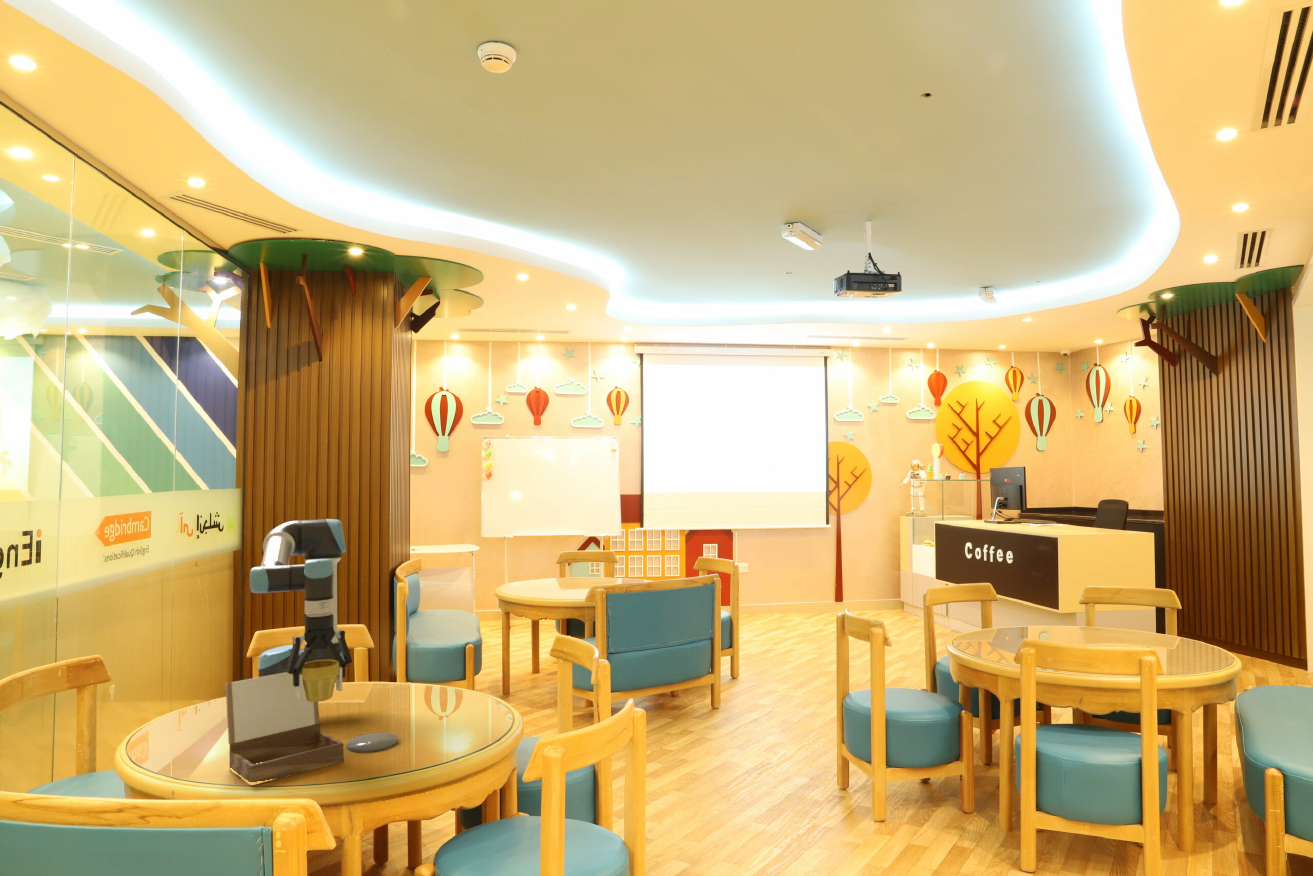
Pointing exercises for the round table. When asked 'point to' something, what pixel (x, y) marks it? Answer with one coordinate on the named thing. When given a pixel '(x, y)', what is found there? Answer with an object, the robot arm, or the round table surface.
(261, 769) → the cold frame
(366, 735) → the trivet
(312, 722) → the lid
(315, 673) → the plant pot
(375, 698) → the round table surface
